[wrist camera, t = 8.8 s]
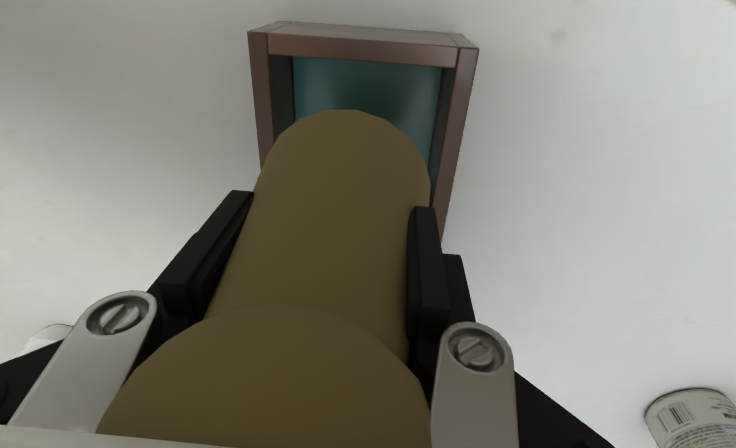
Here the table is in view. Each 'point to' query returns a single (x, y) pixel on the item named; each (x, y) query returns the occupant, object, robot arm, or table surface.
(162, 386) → the cork
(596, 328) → the table surface
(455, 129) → the caddy
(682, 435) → the spray can
